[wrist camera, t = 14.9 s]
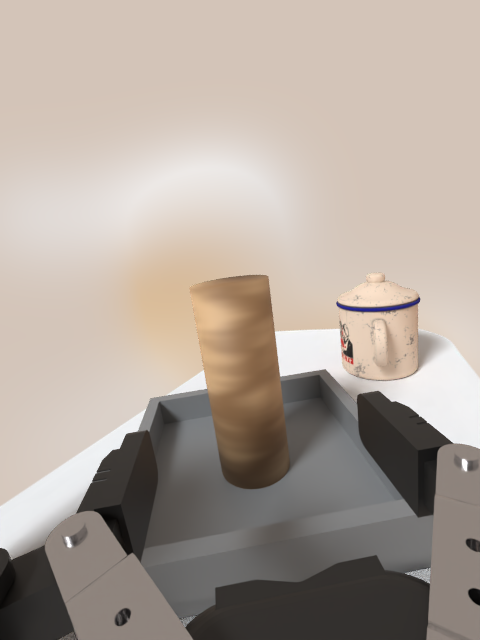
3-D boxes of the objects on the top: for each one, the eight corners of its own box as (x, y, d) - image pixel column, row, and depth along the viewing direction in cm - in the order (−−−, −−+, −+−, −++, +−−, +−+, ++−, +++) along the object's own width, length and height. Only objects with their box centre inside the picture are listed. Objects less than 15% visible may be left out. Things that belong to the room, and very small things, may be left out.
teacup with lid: (342, 353, 46) (337, 271, 43) (413, 352, 43) (413, 264, 40) (337, 393, 35) (329, 288, 32) (432, 397, 32) (433, 280, 29)
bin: (99, 634, 16) (80, 579, 15) (157, 429, 33) (150, 398, 32) (450, 563, 17) (451, 507, 16) (327, 400, 34) (325, 369, 33)
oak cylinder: (223, 495, 22) (186, 293, 19) (220, 448, 27) (191, 282, 24) (297, 481, 22) (275, 280, 19) (281, 437, 27) (261, 272, 24)
